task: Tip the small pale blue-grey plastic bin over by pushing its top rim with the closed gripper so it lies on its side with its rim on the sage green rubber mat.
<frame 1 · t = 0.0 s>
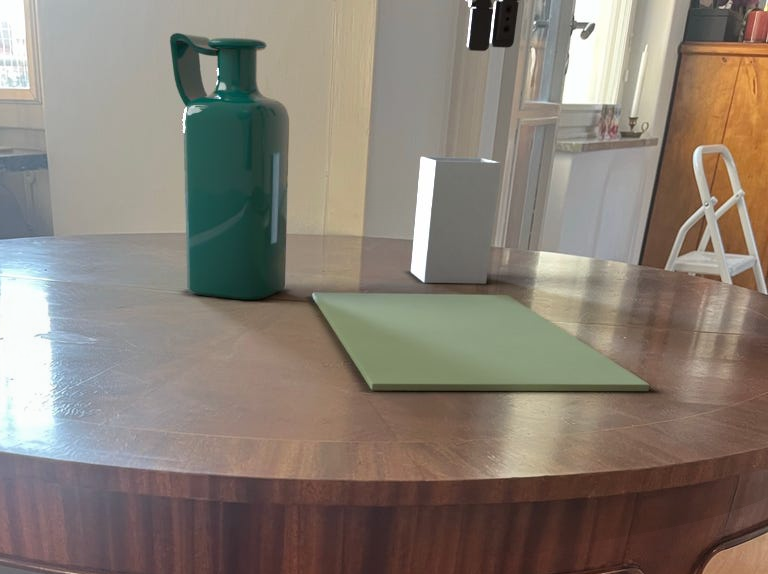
hand: (488, 49, 97), 22 cm above the table, tool pointing down, fingers open, 8 cm apart
bin: (447, 277, 108), on the table
pitcher: (231, 293, 97), on the table
mat: (452, 336, 81), on the table
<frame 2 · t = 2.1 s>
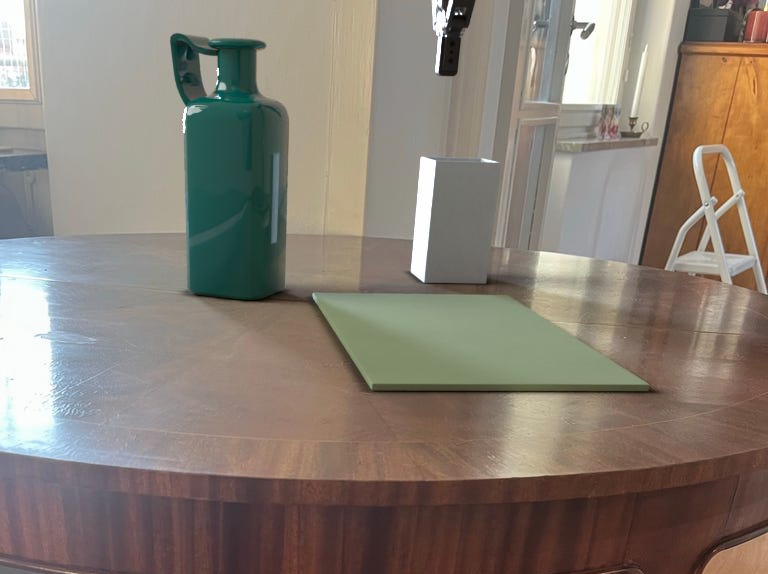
hand: (445, 75, 107), 20 cm above the table, tool pointing down, fingers closed
nothing on the table moved.
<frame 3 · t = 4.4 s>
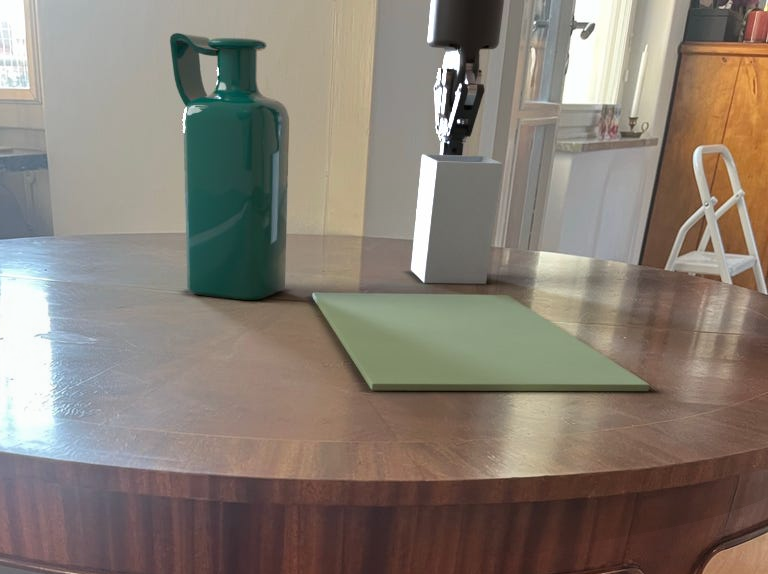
hand: (448, 179, 107), 10 cm above the table, tool pointing down, fingers closed
bin: (447, 276, 108), on the table, touching gripper
everything else where it was.
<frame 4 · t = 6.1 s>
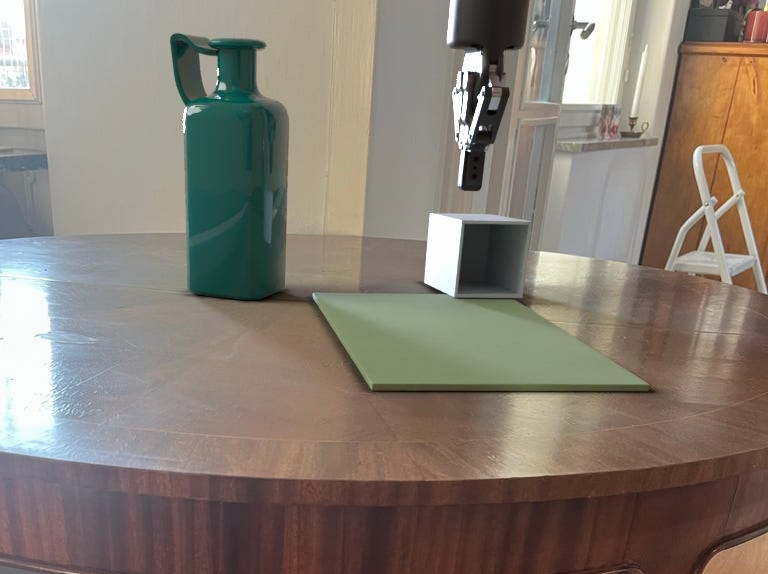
hand: (469, 190, 100), 9 cm above the table, tool pointing down, fingers closed
bin: (458, 249, 103), point 3 cm above the table, tilted 87°, touching mat
everything else where it was.
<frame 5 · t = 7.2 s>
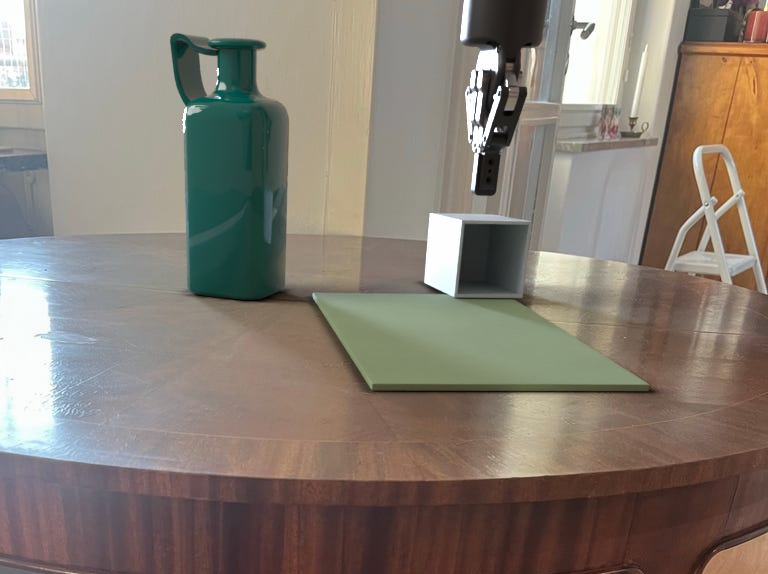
hand: (482, 194, 95), 9 cm above the table, tool pointing down, fingers closed
nothing on the table moved.
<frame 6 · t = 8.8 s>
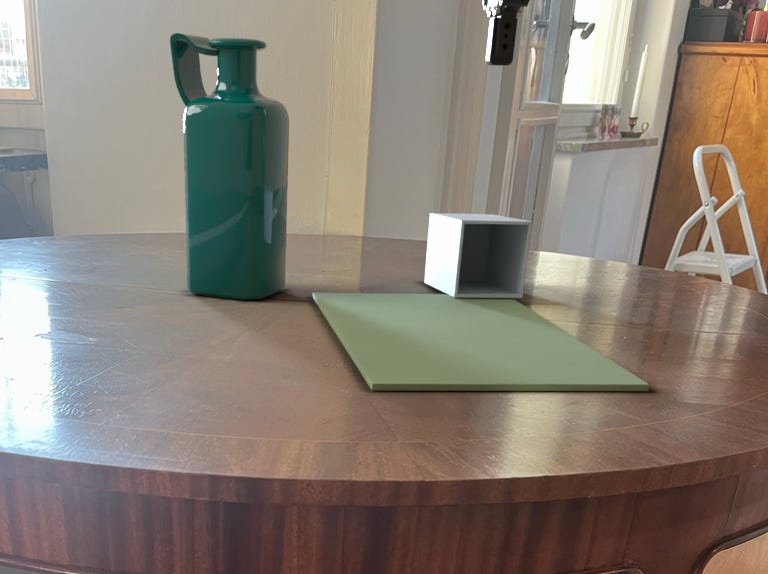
hand: (498, 64, 89), 21 cm above the table, tool pointing down, fingers closed
nothing on the table moved.
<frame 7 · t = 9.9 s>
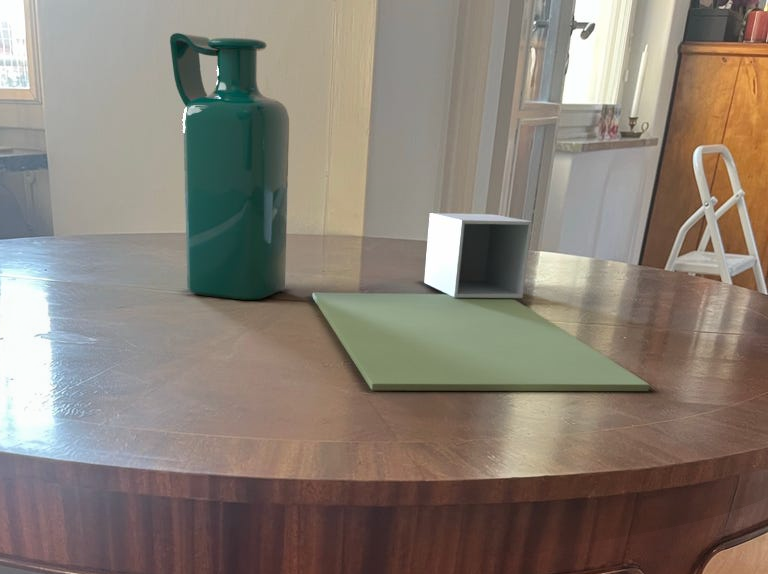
nothing on the table moved.
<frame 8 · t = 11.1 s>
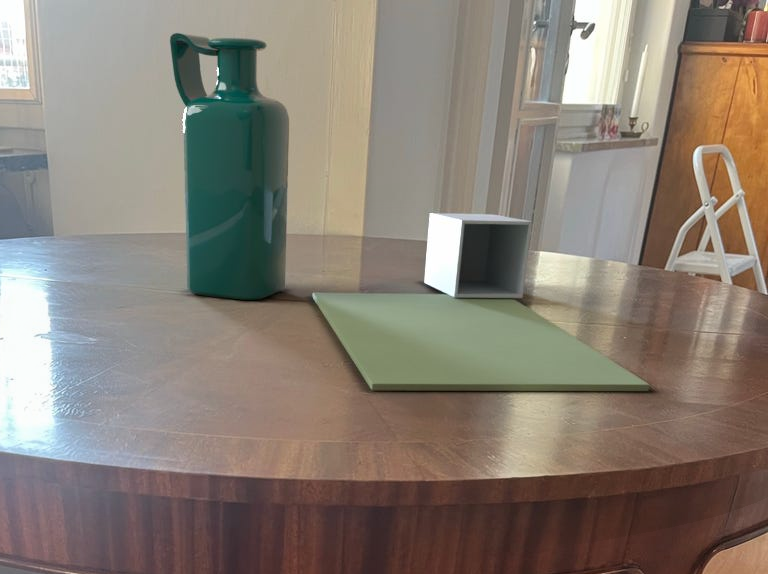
nothing on the table moved.
at the end: bin tilted 87°; bin touching mat, table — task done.
